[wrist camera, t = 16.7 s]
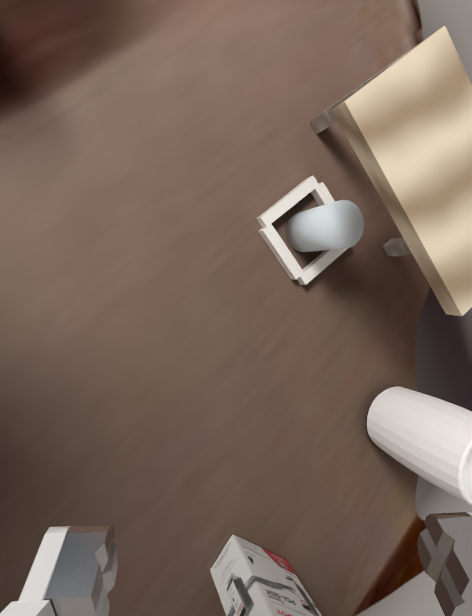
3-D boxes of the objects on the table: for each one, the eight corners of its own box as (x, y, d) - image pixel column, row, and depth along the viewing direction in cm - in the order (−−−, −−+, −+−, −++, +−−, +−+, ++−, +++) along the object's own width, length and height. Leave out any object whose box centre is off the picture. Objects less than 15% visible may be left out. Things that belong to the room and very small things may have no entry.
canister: (278, 227, 42) (314, 218, 35) (307, 203, 43) (348, 190, 36) (299, 260, 44) (339, 258, 36) (327, 236, 44) (371, 230, 37)
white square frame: (251, 222, 41) (256, 220, 40) (311, 174, 43) (317, 172, 42) (296, 287, 44) (301, 288, 43) (351, 240, 46) (357, 239, 44)
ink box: (288, 558, 47) (347, 647, 36) (266, 595, 46) (318, 698, 35) (231, 531, 44) (275, 620, 33) (207, 571, 43) (244, 675, 32)
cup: (403, 370, 50) (515, 407, 36) (420, 426, 51) (532, 481, 38) (349, 400, 47) (447, 452, 34) (369, 459, 49) (469, 529, 36)
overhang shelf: (251, 165, 41) (344, 101, 25) (319, 114, 43) (444, 25, 27) (338, 300, 46) (462, 316, 30) (396, 248, 48) (539, 238, 32)
